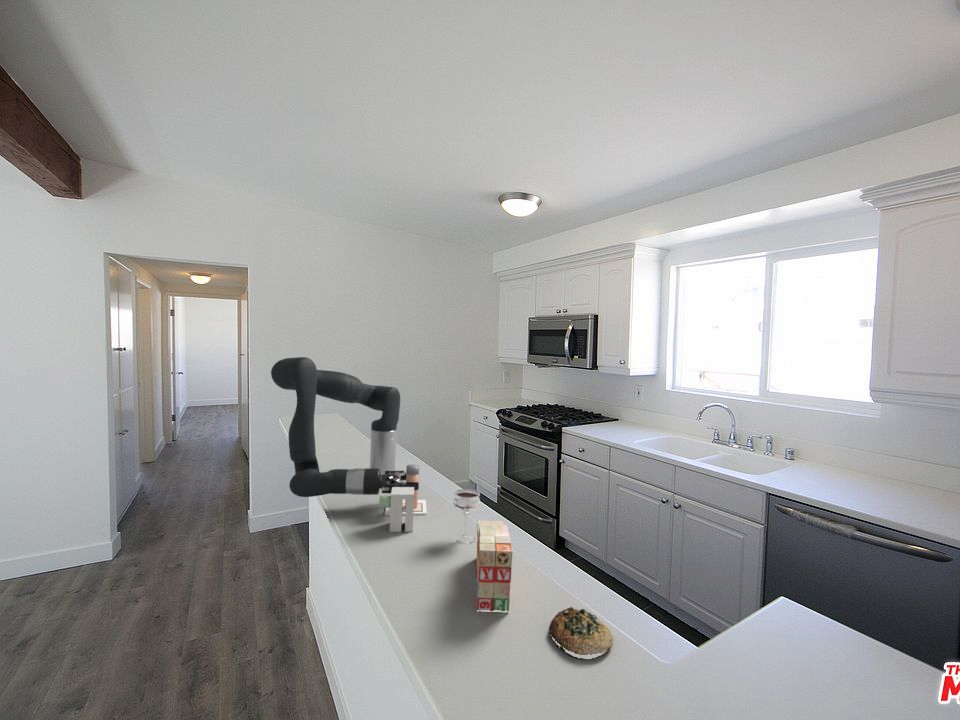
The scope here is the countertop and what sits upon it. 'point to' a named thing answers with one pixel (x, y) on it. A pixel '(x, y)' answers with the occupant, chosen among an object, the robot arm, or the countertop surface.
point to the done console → (396, 508)
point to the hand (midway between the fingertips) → (418, 481)
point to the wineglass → (466, 508)
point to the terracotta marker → (412, 480)
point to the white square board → (418, 511)
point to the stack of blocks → (493, 566)
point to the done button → (385, 502)
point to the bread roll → (580, 632)
